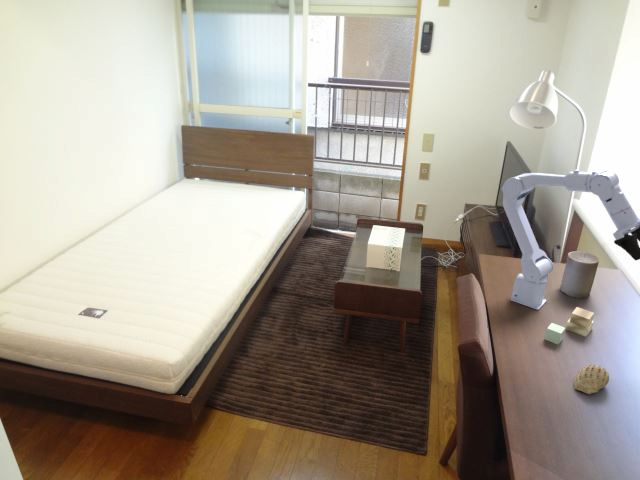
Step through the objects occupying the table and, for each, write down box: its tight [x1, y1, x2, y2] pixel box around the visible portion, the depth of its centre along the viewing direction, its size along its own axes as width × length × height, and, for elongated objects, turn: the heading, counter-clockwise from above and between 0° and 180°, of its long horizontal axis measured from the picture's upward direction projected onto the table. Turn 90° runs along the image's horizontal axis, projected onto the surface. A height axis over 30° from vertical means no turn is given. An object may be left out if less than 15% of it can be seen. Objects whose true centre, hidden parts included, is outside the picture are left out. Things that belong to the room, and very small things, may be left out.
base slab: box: [565, 318, 595, 338], centre depth 150 cm, size 6×6×3 cm
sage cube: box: [544, 322, 566, 345], centre depth 145 cm, size 4×4×4 cm
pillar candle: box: [559, 250, 600, 299], centre depth 169 cm, size 10×10×15 cm
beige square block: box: [569, 306, 595, 328], centre depth 149 cm, size 5×5×3 cm
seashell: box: [572, 364, 610, 395], centre depth 126 cm, size 8×6×10 cm
